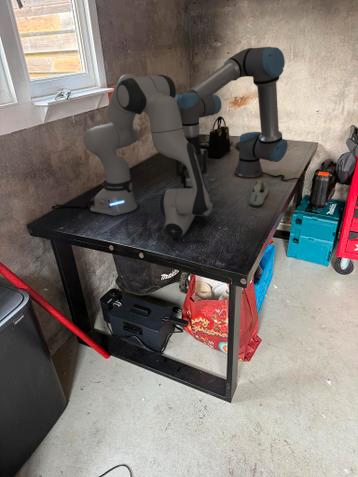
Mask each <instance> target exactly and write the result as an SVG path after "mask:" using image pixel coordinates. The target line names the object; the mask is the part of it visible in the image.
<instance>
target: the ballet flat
mask: <svg viewBox="0 0 358 477" xmlns="http://www.w3.org/2000/svg"><path fill="white" fill-rule="evenodd" d="M268 194H269V189H268V186H267V183H266V182H265V181H264V180H262V179H257V180H255V181H254V182H253V184H252V187H251V190H250V196H249V204H250V205H251V206H252V207H260V206H261V205H263V203H264V201H265V198H266V196H267V195H268Z"/></svg>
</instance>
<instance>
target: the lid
mask: <svg viewBox="0 0 358 477" xmlns="http://www.w3.org/2000/svg"><path fill="white" fill-rule="evenodd" d="M187 186H192V183H191V180H190V177H188V178H186V187H187Z"/></svg>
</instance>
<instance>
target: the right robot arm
mask: <svg viewBox="0 0 358 477" xmlns="http://www.w3.org/2000/svg"><path fill="white" fill-rule="evenodd" d="M285 63H286V62H285V56H284V53H283V51H282V50H281V49H280V48H279V47H276V46H264V47H248V48H245V49H243V50H240V51H238V52H237V53H235V54H233V55H232V56H231V57H228V59H226V60H225V61H224V62H223V65H222V66H220V67H219V68H218V69H216V70H215V71H213V72H212V73H211V74H209V75H208V76H207V77H205V78H203V79H202V80H201V81H200V82H198V83H197V84H196V85H194V86H193V87H192V88H190V89H189V90H187V91H186V92H184V93H176V95H175V100H176V102H177V104H178V108H179V112H180V116H181V121H182V129H183V133H184V136H185V138H186V140H187V141H188V142H189V143H191V144H192V145H193V146H194V148H195V151H196V154H197V157H199V155H200V154H201V158H202V159H201V160H202V167H201V166H200V168H201V172H202V175H203V176H204V174H207V173H208V171H207V154H208V149H206V148H200V141H199V137H200V119H202V118H205V117H209V116H214V115H217V114H218V113H220V112H221V109H222V100H221V98H220V97H219V95H217V94H216V93H218V92H219V91H220V90H221V89H223V88H224V87H225V86H227V85H228V84H229V83H231V82H232V81H233V82H235V81H237V80H238V79H241V78H244V77H245V78H246V77H247V78H249V77H250V78H252V82H253V85H254V86H256V87H257V99H258V109H259V121H260V122H259V123H260V131H250V132H244V133H242V134H240V136H239V141H238V142H239V150H238V162H237V165H236V166H234V169H235V170H234V174H235V176H236V177H239V178H243V179H255V178H259V177H261V176H262V175H265V176H269V177H272V178H279V177H281V178H280V180H281V181H282V182H288V181H289V182H290V181H293V180H298V181H300V182H303V180H302V179H301V178H299V177H291V178H287V179H284V178H285V175H284V174H278V175H273V174H270V173H268V172H267V173H266V172H264V171H263V169H262V165H261V160H264V161H269V162H274V163H277V162H280V161H281V160H282V159H284V157H285V156H286V154H287V150H288V146H289V145H288V141H287V139H284V138H283V132H281V131H280V128H279V127H280V126H279V109H278V92H277V90H278V88H277V82H278V81H279V80H280V77H281V76H282V74H283V73H284V68H285V65H286V64H285ZM186 169H187V167H186V166H185V165H184V164H183V165H182V164H181V169H180V161H178V160H176V159H175V173H176V176H177V177H180V183H181V184H182V185H183V188H187V185H186V179H187V178H186V175H185V172H186Z"/></svg>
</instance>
